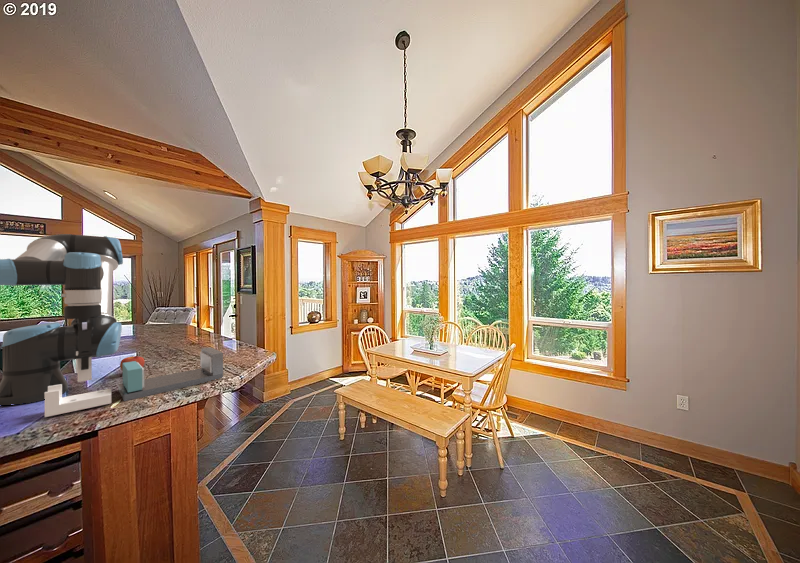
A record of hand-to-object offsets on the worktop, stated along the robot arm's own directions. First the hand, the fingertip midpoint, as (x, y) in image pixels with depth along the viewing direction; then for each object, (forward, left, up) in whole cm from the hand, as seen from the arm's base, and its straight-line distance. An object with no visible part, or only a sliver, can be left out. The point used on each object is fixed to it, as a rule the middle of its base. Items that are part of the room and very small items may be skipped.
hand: (83, 376), depth 87 cm
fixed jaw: (-4, +35, -8) cm, 36 cm away
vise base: (-4, +23, -10) cm, 25 cm away
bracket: (0, -1, -10) cm, 10 cm away
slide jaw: (-4, +12, -7) cm, 14 cm away
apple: (-31, +15, -10) cm, 36 cm away
